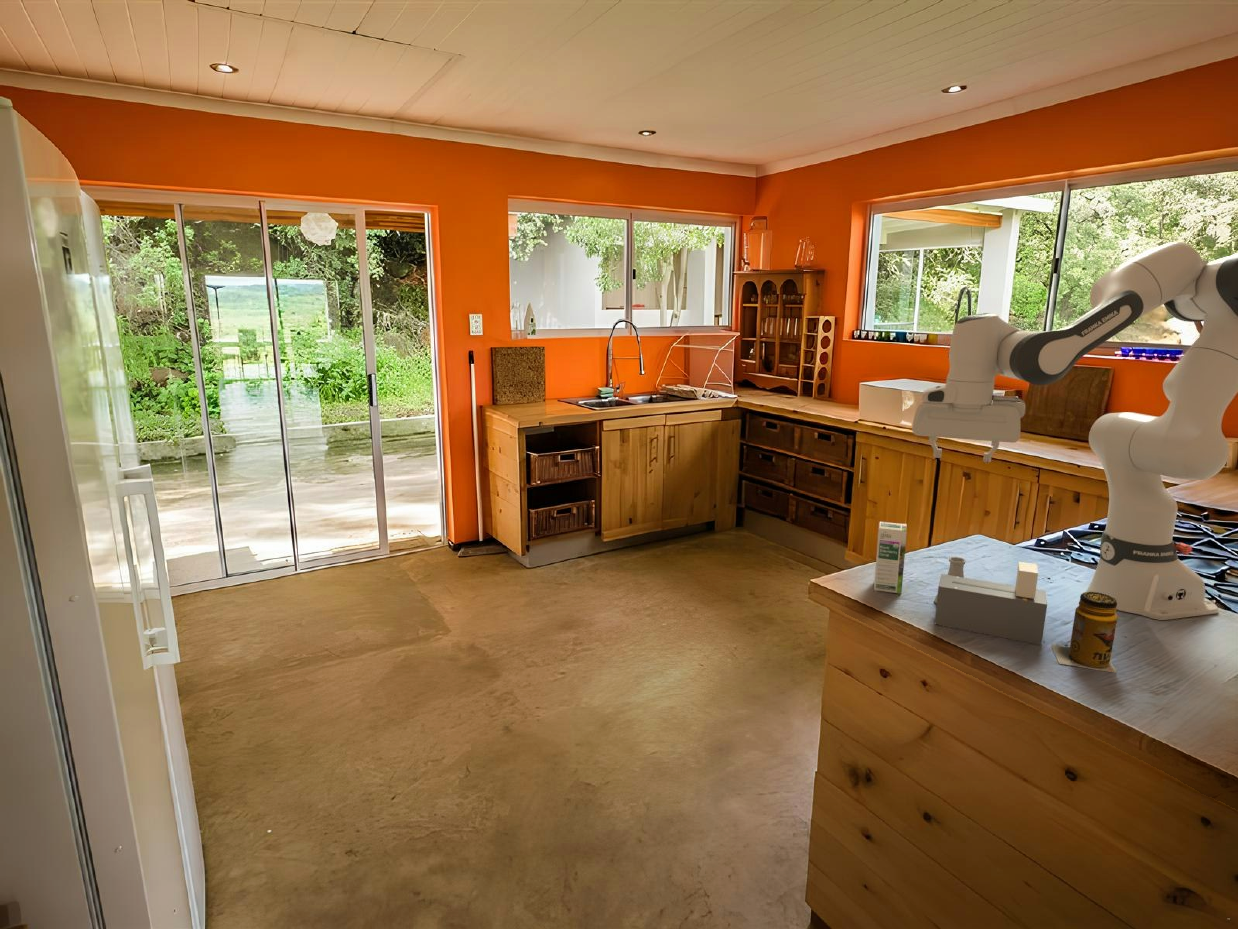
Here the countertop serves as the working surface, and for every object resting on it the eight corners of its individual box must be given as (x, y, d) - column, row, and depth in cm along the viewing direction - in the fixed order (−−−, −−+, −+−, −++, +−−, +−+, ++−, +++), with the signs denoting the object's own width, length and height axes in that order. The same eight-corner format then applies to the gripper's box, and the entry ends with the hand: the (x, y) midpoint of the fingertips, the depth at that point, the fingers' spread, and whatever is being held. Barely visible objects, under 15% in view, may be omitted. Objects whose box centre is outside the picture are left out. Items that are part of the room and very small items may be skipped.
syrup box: (873, 590, 151) (878, 527, 148) (874, 581, 156) (879, 519, 153) (901, 594, 149) (907, 530, 146) (901, 584, 154) (907, 522, 151)
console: (934, 624, 135) (938, 585, 133) (937, 610, 141) (941, 573, 139) (1041, 645, 127) (1047, 604, 125) (1039, 629, 133) (1045, 590, 131)
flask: (975, 613, 140) (981, 567, 138) (937, 610, 141) (942, 564, 139) (966, 598, 147) (971, 554, 144) (930, 595, 148) (934, 551, 146)
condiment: (1117, 673, 117) (1128, 608, 114) (1059, 664, 120) (1068, 600, 117) (1105, 653, 124) (1115, 591, 121) (1050, 645, 127) (1059, 584, 124)
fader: (1015, 595, 128) (1019, 570, 127) (1015, 586, 132) (1018, 561, 131) (1034, 598, 127) (1038, 573, 125) (1033, 589, 131) (1037, 564, 130)
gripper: (1026, 395, 140) (1018, 461, 143) (917, 389, 150) (912, 452, 153) (1027, 398, 135) (1018, 467, 138) (914, 393, 144) (908, 457, 147)
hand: (961, 459), depth 145 cm, fingers open, 8 cm apart
